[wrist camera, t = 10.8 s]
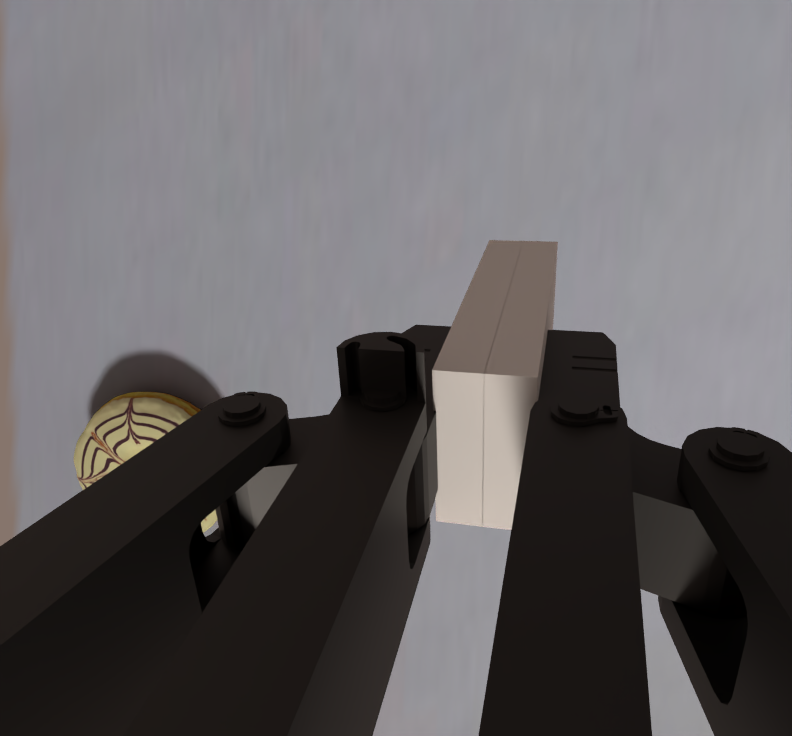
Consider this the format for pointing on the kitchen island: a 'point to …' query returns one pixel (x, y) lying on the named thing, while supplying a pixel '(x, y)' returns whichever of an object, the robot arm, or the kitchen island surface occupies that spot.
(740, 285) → the kitchen island surface
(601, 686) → the robot arm
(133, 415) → the decorated donut
